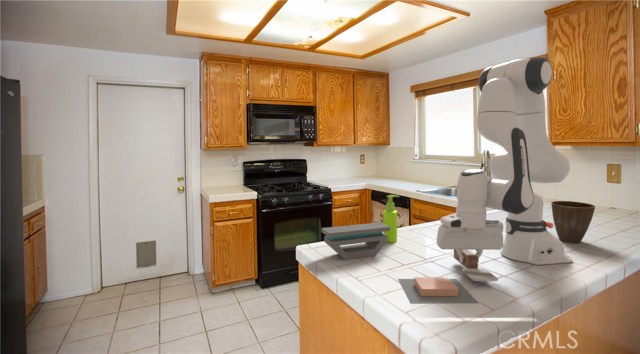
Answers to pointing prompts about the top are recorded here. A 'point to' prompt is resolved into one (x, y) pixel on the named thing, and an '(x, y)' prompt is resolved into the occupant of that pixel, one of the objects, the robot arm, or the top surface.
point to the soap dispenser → (390, 220)
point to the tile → (435, 286)
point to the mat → (416, 297)
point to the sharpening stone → (356, 239)
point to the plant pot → (572, 219)
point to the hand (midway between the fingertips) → (468, 262)
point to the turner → (474, 267)
